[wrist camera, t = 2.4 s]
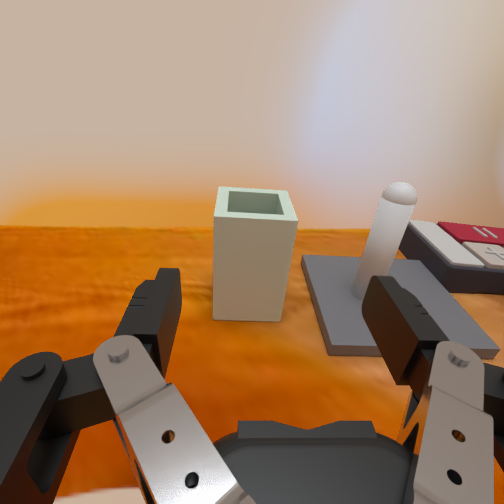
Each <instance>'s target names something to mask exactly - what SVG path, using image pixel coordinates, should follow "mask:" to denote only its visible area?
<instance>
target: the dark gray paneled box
mask: <svg viewBox="0 0 504 504" xmlns="http://www.w3.org/2000/svg"><path fill="white" fill-rule="evenodd" d="M398 249H399V250H400V251H401V252H402V253H403V254H404V256H405V257H406V258H407V259H408V260H420V261H421V262H422V263H423V265H424V266H425V267H426V268H427V269H428V270H429V271H430V272H431V273H432V274H433V276H434V277H435V278H436V279H437V280H438V281H439V282H440V283H441V284H442V285H443V287H444V288H445V289H446V290H447V291H448V292H449V293H469V294H473V293H476V292H479V293H491V294H503V295H504V229H503V228H493V227H485V226H476V225H467V224H457V223H449V222H438V224H435V223H433V222H427V221H418V220H409V222H408V225H407V227H406V230H405V232H404V235H403V237H402V240H401V242H400V245H399V248H398Z"/></svg>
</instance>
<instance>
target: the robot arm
mask: <svg viewBox="0 0 504 504" xmlns="http://www.w3.org/2000/svg"><path fill="white" fill-rule="evenodd" d="M181 306H182V295H181V282H180V271H179V268H160V269H159V271H158V273H157V275H156V278H155V280H145V281H144V282H143V283H142V284H140V285H139V286H138V287H137V288H136V290H135V292H134V294H133V296H132V299H131V301H130V303H129V305H128V307H127V309H126V311H125V313H124V316H123V318H122V320H121V322H120V324H119V326H118V328H117V330H116V333H115V335H114V337H113V338H110V339H108V340H106V341H105V342H103V343H102V344H101V345H100V346H99V347H98V348H97V349H96V351H95V353H93V354H90V355H87V356H84V357H79V358H75V359H71V360H67V361H63V362H62V359H61V357H60V356H59V355H58V354H56V353H53V352H40V353H36V354H32V355H30V356H27V357H25V358H24V359H22V360H20V361H19V362H17V363H16V364H15V365H13V366H12V367H11V368H10V369H9V371H8V372H7V373H6V375H5V376H4V378H3V379H2V381H1V382H0V504H53V502H54V499H55V496H56V494H57V491H58V489H59V486H60V483H61V481H62V478H63V475H64V473H65V470H66V467H67V465H68V462H69V459H70V457H71V454H72V452H73V449H74V446H75V444H76V441H77V438H78V436H79V433H80V430H81V429H83V428H86V427H90V426H93V425H96V424H99V423H102V422H106V421H109V420H112V421H113V423H114V426H115V428H116V430H117V433H118V435H119V438H120V440H121V442H122V445H123V447H124V450H125V452H126V454H127V457H128V459H129V462H130V464H131V466H132V469H133V472H134V474H135V477H136V480H137V483H138V485H139V488H140V490H141V493H142V495H143V498H144V500H145V502H146V504H494V457H495V458H496V460H497V462H498V463H499V465H500V467H501V468H502V470H503V472H504V368H502V367H498V366H494V365H490V364H486V363H483V362H482V360H481V359H480V357H479V356H478V355H477V354H476V353H474V352H473V351H472V350H471V349H469V348H467V347H466V346H464V345H462V344H459V343H456V342H452V341H450V340H449V339H448V337H447V336H446V335H445V334H444V332H443V331H442V330H441V328H440V327H439V326H438V325H437V323H436V322H435V321H434V319H433V318H432V317H431V316H430V315H429V313H428V312H427V310H426V309H425V308H424V307H423V305H422V304H421V303H420V301H419V300H418V299H417V297H416V296H415V295H413V294H412V293H411V292H409V291H408V290H406V289H405V288H401V286H400V285H399V284H398V282H397V281H396V279H395V278H394V277H393V276H380V275H373V276H372V277H371V279H370V281H369V284H368V287H367V290H366V293H365V296H364V299H363V302H362V316H363V318H364V321H365V323H366V325H367V327H368V329H369V331H370V333H371V335H372V337H373V339H374V341H375V343H376V345H377V347H378V349H379V351H380V353H381V355H382V357H383V359H384V361H385V363H386V365H387V367H388V369H389V371H390V373H391V375H392V377H393V379H394V381H395V383H396V385H410V387H411V389H412V391H411V393H410V395H409V398H408V401H407V405H406V409H405V412H404V416H403V420H402V424H401V427H400V431H399V434H398V438H397V440H396V441H395V440H393V439H391V438H389V437H387V436H384V435H382V434H379V433H376V432H375V429H374V427H373V424H372V421H337V422H334V423H330V424H327V425H323V426H320V427H317V428H313V429H310V430H305V429H301V428H297V427H293V426H290V425H286V424H282V423H278V422H274V421H238V430H237V432H234V433H231V434H228V435H226V436H224V437H222V438H220V439H219V440H217V441H215V442H214V443H213V444H212V442H211V441H210V439H209V438H208V436H207V434H206V433H205V431H204V430H203V428H202V427H201V425H200V424H199V422H198V421H197V419H196V417H195V416H194V414H193V413H192V411H191V410H190V408H189V407H188V405H187V403H186V402H185V400H184V399H183V397H182V396H181V394H180V393H179V391H178V390H177V388H176V387H175V386H174V385H173V384H172V383H169V384H167V383H166V382H165V375H166V371H167V367H168V363H169V359H170V355H171V351H172V346H173V342H174V338H175V334H176V330H177V326H178V322H179V317H180V313H181Z"/></svg>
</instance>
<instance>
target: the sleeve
mask: <svg viewBox="0 0 504 504" xmlns="http://www.w3.org/2000/svg"><path fill="white" fill-rule="evenodd" d="M297 225H298V219H297V216H296V214H295V211H294V208H293V205H292V203H291V200H290V197H289V195H288V192H287V191H284V190H267V189H252V188H236V187H219V189H218V195H217V201H216V206H215V213H214V247H213V320H236V321H269V322H280V321H281V316H282V310H283V304H284V299H285V293H286V288H287V282H288V276H289V271H290V265H291V259H292V254H293V248H294V242H295V237H296V231H297Z"/></svg>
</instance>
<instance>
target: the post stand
mask: <svg viewBox="0 0 504 504" xmlns="http://www.w3.org/2000/svg"><path fill="white" fill-rule="evenodd" d="M416 201H417V193H416V191H415V189H414V188H413V187H412V186H411V185H410V184H407V183H405V182H397V183H393V184H391V185H389V186H388V187H387V188H386V189H385V190H384V191H383V193H382V196H381V199H380V202H379V205H378V208H377V211H376V215H375V218H374V221H373V224H372V227H371V230H370V233H369V236H368V239H367V242H366V245H365V248H364V251H363V254H362V257H342V256H321V255H302V260H301V266H302V269H303V272H304V275H305V279H306V282H307V285H308V289H309V292H310V295H311V298H312V302H313V305H314V308H315V312H316V315H317V318H318V322H319V325H320V328H321V331H322V335H323V338H324V341H325V345H326V348H327V351H328V354H329V355H346V356H382V355H381V353H380V351H379V349H378V347H377V345H376V343H375V341H374V339H373V337H372V335H371V333H370V331H369V329H368V327H367V325H366V323H365V321H364V318H363V316H362V302H363V299H364V296H365V293H366V290H367V287H368V284H369V281H370V279H371V277H372V276H373V275H380V276H393V277H394V278H395V279H396V281H397V282H398V284H399V285H400V286H401V288H405V289H406V290H408V291H409V292H411V293H412V294H413V295H415V296H416V297H417V299H418V300H419V301H420V303H421V304H422V305H423V307H424V308H425V309H426V310H427V312H428V313H429V315H430V316H431V317H432V318H433V319H434V321H435V322H436V323H437V325H438V326H439V327H440V328H441V330H442V331H443V332H444V334H445V335H446V336H447V337H448V339H449V340H450V341H452V342H456V343H459V344H462V345H464V346H466V347H467V348H469V349H471V350H472V351H473V352H474V353H476V354H477V355H478V356H479V357H480V359H493V358H494V357H495V356H496V354H497V353H498V352H499V351H500V348H499V347H498V346H497V345H496V344H495V343H494V342H493V340H492V339H491V338H490V337H489V336H488V335H487V334H486V333H485V332H484V331H483V329H482V328H481V327H480V326H479V325H478V324H477V323H476V322H475V321H474V320H473V318H472V317H471V316H470V315H469V314H468V313H467V312H466V311H465V310H464V309H463V307H462V306H461V305H460V304H459V303H458V302H457V301H456V300H455V299H454V298H453V296H452V295H451V294H450V293H449V292H448V291H447V290H446V289H445V288H444V287H443V285H442V284H441V283H440V282H439V281H438V280H437V279H436V278H435V277H434V276H433V274H432V273H431V272H430V271H429V270H428V269H427V268H426V267H425V266H424V265H423V263H422V262H421V261H420V260H406V259H394V258H395V255H396V253H397V250H398V248H399V245H400V242H401V240H402V237H403V235H404V232H405V230H406V227H407V225H408V222H409V220H410V217H411V215H412V212H413V210H414V207H415V204H416Z"/></svg>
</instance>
